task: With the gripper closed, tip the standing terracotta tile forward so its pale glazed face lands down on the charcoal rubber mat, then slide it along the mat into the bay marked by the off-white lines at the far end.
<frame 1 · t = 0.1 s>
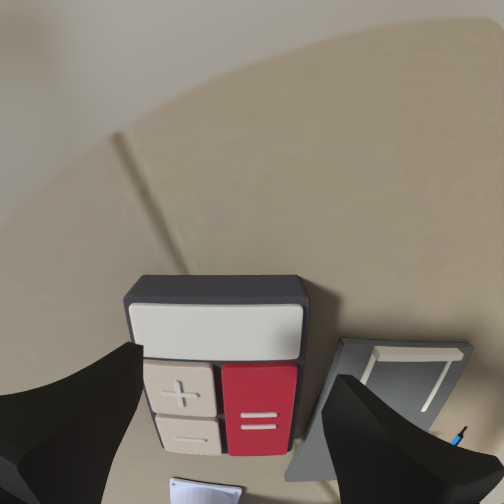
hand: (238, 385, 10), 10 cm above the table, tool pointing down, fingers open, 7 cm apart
mat: (376, 420, 24), on the table
calculator: (222, 365, 22), on the table
pen: (425, 470, 28), on the table
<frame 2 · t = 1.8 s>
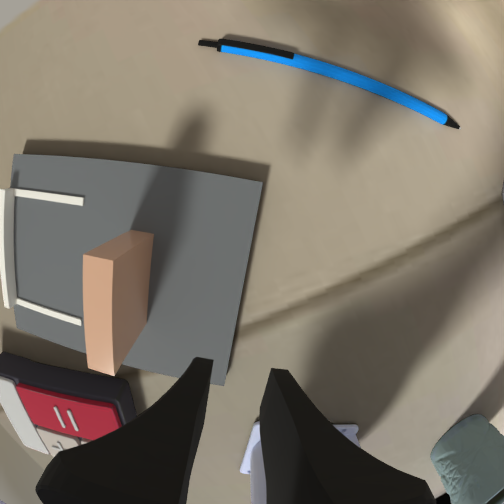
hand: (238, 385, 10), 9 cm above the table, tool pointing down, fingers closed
green cup: (458, 436, 25), on the table
mat: (109, 266, 19), on the table
tile: (138, 278, 18), point 1 cm above the table, touching mat
calculator: (73, 406, 23), on the table
pen: (344, 79, 17), on the table
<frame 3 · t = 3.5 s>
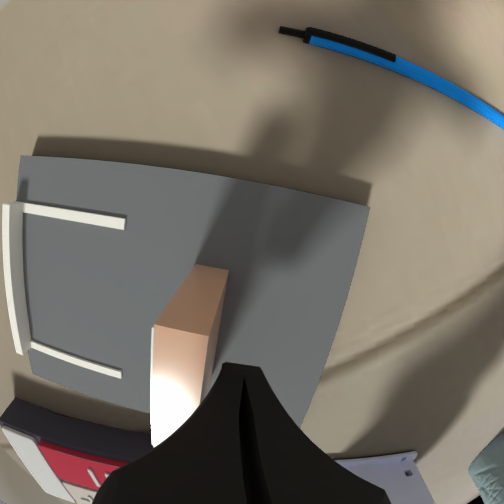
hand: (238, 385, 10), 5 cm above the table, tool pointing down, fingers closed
green cup: (494, 448, 21), on the table
mat: (159, 307, 15), on the table
tile: (203, 325, 14), point 1 cm above the table, touching gripper, mat
calculator: (102, 456, 19), on the table
pen: (438, 88, 13), on the table
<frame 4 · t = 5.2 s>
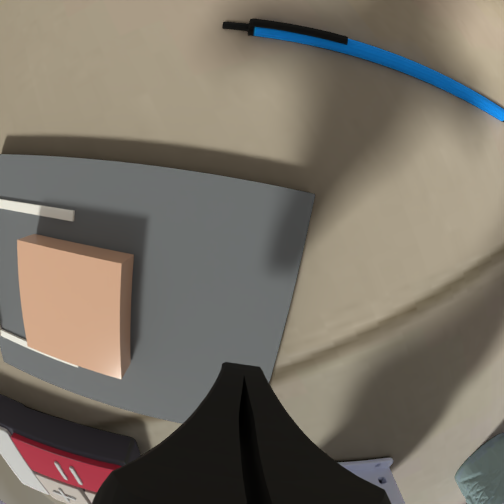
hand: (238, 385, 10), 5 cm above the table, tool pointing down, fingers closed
green cup: (483, 455, 21), on the table
mat: (109, 298, 15), on the table
tile: (125, 320, 13), point 2 cm above the table, tilted 90°, touching mat
calculator: (73, 451, 19), on the table
pen: (401, 69, 12), on the table
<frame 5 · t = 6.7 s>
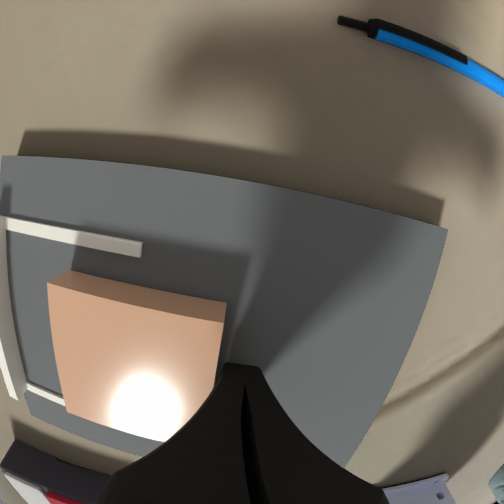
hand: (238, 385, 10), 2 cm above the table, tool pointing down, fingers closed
mat: (186, 351, 12), on the table
tile: (213, 385, 10), point 2 cm above the table, tilted 90°, touching gripper, mat
calculator: (111, 497, 16), on the table
pen: (499, 92, 10), on the table
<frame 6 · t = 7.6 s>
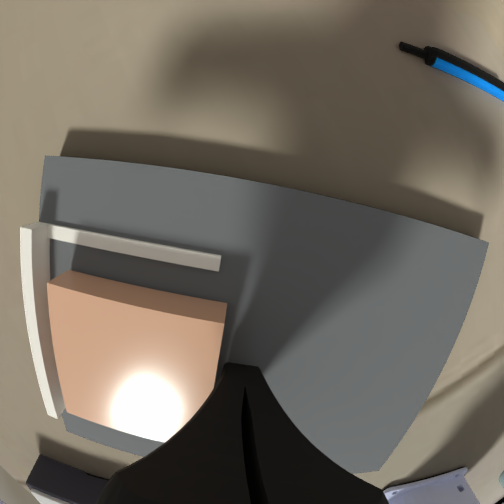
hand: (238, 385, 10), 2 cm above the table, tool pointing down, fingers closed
mat: (250, 361, 12), on the table
tile: (213, 385, 10), point 2 cm above the table, tilted 90°, touching gripper, mat
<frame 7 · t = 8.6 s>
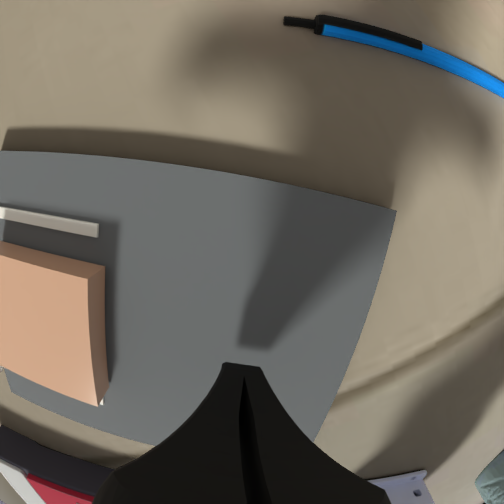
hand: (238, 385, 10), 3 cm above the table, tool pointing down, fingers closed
green cup: (502, 459, 19), on the table
mat: (142, 328, 12), on the table
tile: (98, 342, 10), point 2 cm above the table, tilted 90°, touching mat
calculator: (89, 484, 17), on the table
pen: (465, 76, 10), on the table
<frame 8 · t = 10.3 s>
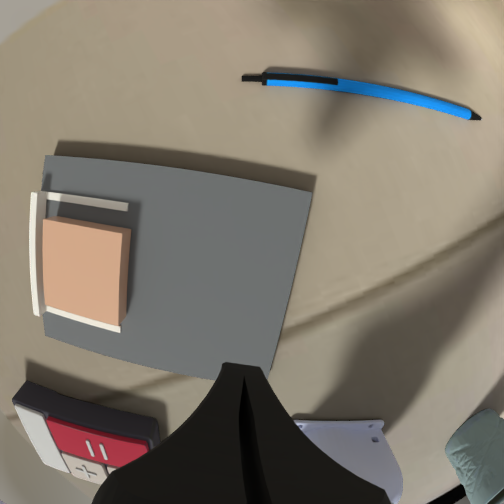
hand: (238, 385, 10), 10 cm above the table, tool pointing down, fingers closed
green cup: (471, 430, 26), on the table
mat: (152, 273, 19), on the table
tile: (123, 278, 17), point 2 cm above the table, tilted 90°, touching mat
calculator: (96, 432, 24), on the table
pen: (381, 94, 17), on the table
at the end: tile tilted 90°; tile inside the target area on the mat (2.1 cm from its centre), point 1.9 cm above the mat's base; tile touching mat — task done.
